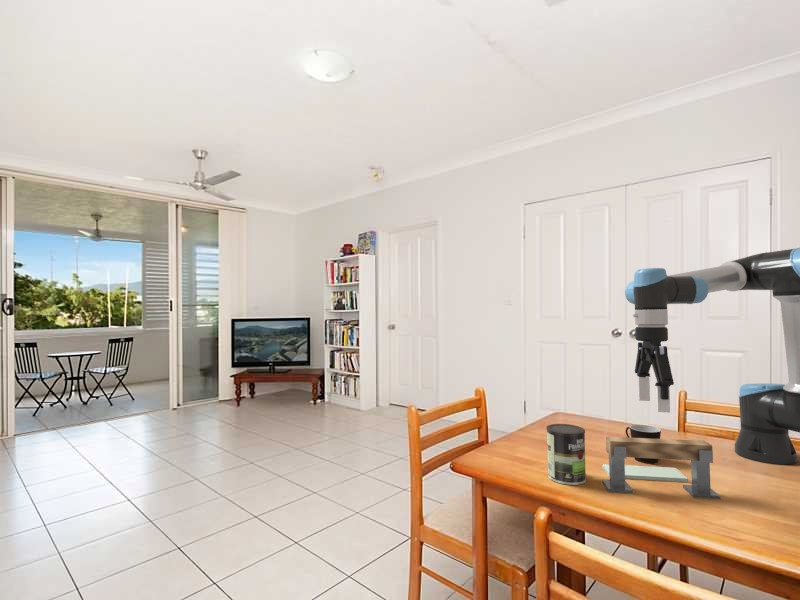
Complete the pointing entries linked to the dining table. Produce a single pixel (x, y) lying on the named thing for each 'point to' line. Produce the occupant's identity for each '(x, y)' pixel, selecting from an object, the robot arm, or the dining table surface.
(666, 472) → the mat
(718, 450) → the dining table surface
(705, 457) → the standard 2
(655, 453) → the rail
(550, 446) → the coffee can
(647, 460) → the coffee mug
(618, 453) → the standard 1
